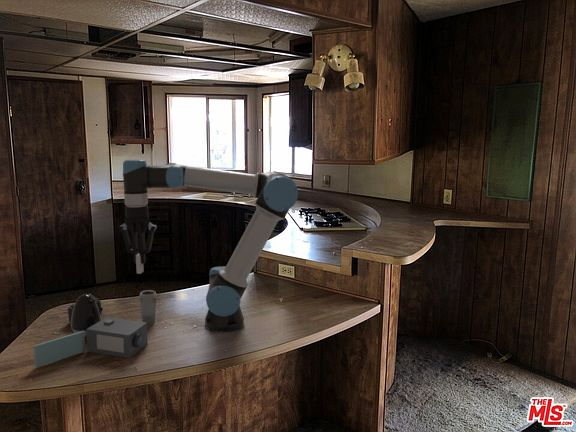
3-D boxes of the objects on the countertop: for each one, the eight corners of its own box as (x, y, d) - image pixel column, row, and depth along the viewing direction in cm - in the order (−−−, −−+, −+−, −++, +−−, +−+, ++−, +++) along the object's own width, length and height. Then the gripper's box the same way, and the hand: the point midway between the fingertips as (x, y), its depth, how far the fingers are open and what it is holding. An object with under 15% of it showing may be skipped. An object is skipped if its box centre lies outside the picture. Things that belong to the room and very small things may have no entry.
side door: (36, 367, 141) (35, 346, 140) (33, 365, 142) (32, 344, 141) (86, 351, 153) (85, 331, 151) (83, 349, 154) (82, 329, 153)
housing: (151, 344, 160) (150, 320, 158) (133, 359, 149) (132, 333, 148) (107, 338, 164) (106, 314, 162) (86, 351, 153) (85, 327, 152)
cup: (161, 322, 179) (160, 293, 177) (145, 327, 174) (145, 297, 172) (151, 317, 184) (151, 288, 182) (136, 321, 179) (135, 292, 177)
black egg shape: (83, 343, 159) (81, 301, 157) (65, 335, 165) (63, 295, 162) (108, 333, 168) (106, 293, 166) (90, 326, 173) (88, 288, 171)
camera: (87, 328, 172) (86, 303, 170) (65, 325, 174) (63, 300, 172) (109, 315, 185) (108, 291, 183) (88, 312, 187) (87, 289, 185)
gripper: (159, 204, 158) (162, 269, 162) (122, 203, 159) (126, 269, 163) (151, 207, 151) (155, 276, 155) (113, 206, 151) (117, 275, 155)
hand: (140, 272), depth 159 cm, fingers closed
